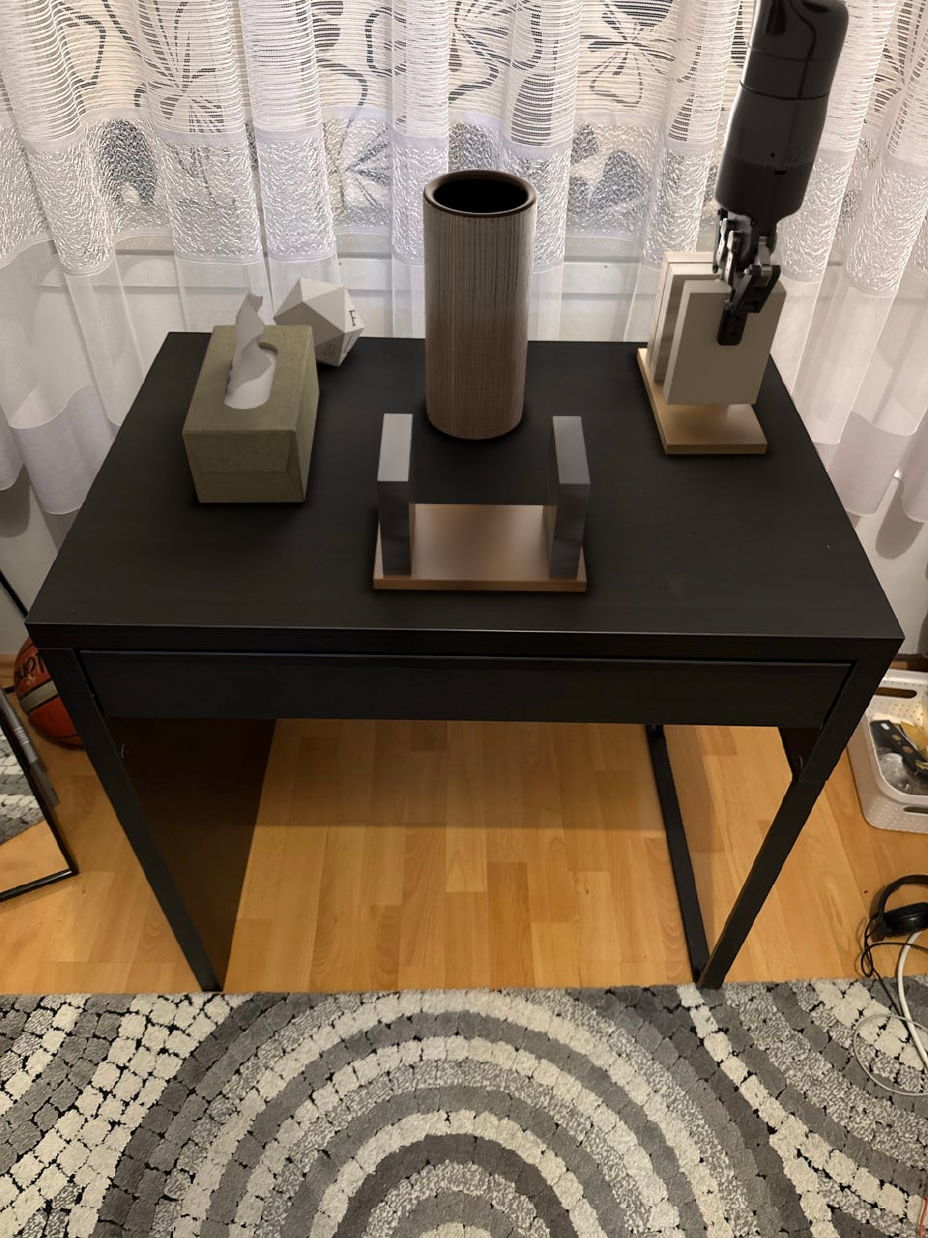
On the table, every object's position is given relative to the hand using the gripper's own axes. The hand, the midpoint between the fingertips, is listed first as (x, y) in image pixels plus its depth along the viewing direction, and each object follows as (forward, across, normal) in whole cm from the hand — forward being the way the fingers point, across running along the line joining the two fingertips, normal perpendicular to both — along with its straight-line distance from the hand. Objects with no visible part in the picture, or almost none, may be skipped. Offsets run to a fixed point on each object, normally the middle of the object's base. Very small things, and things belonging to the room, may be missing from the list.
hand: (724, 334), depth 89 cm
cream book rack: (+10, -4, 0) cm, 11 cm away
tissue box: (+10, +3, -45) cm, 46 cm away
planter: (+10, -2, -24) cm, 26 cm away
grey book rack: (+10, +19, -24) cm, 33 cm away
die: (+10, -13, -40) cm, 44 cm away
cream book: (+7, 0, 0) cm, 7 cm away
